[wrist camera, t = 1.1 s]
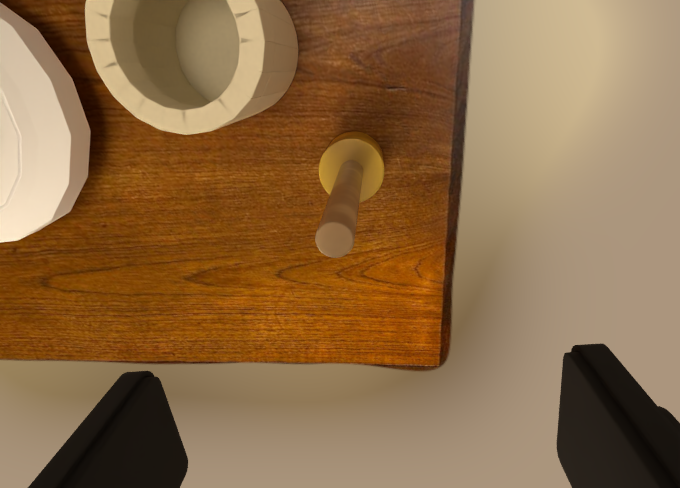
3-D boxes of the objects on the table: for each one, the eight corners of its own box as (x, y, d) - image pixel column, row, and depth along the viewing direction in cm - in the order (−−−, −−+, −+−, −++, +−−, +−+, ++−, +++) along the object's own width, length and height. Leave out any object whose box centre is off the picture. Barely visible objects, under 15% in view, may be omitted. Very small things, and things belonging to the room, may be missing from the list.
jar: (284, -38, 31) (239, -89, 21) (308, 105, 35) (280, 120, 24) (156, -12, 32) (56, -49, 22) (193, 123, 36) (121, 144, 26)
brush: (379, 127, 35) (382, 180, 18) (386, 186, 37) (394, 283, 20) (319, 135, 35) (270, 194, 19) (329, 193, 37) (291, 293, 21)
